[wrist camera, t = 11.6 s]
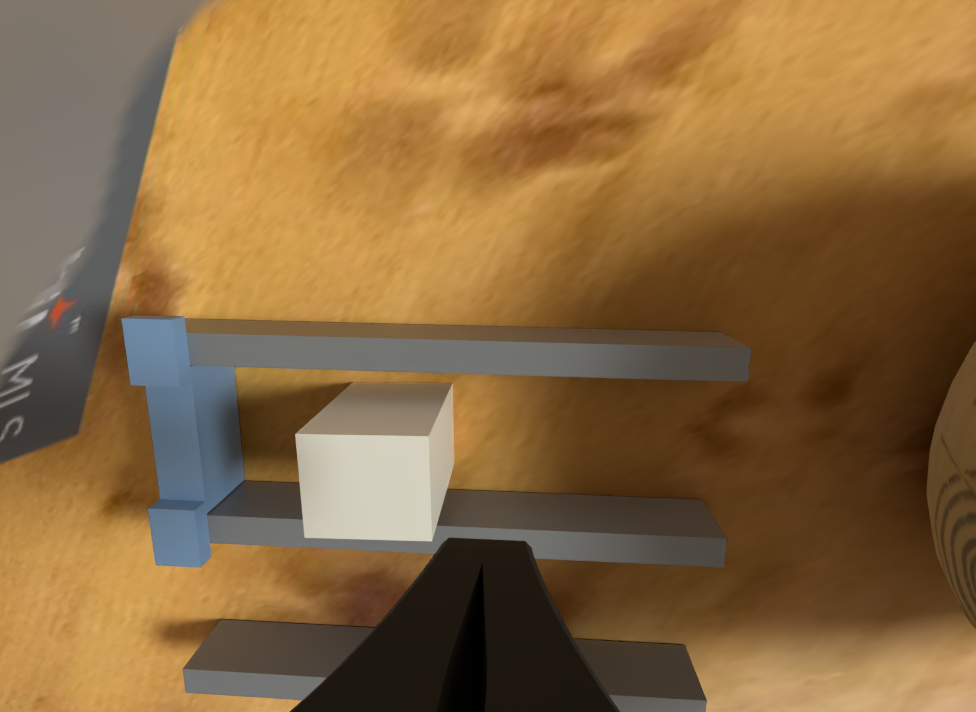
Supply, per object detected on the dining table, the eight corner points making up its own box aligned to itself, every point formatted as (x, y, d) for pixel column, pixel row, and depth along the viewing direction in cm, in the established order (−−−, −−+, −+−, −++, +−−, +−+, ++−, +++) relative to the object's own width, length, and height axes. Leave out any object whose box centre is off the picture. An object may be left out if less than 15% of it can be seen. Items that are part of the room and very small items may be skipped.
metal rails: (223, 641, 22) (175, 707, 19) (185, 304, 19) (121, 318, 16) (682, 667, 21) (709, 741, 18) (722, 316, 18) (763, 334, 15)
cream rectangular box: (357, 461, 20) (304, 537, 15) (353, 381, 19) (294, 434, 14) (454, 463, 19) (432, 541, 15) (452, 383, 19) (428, 436, 14)
